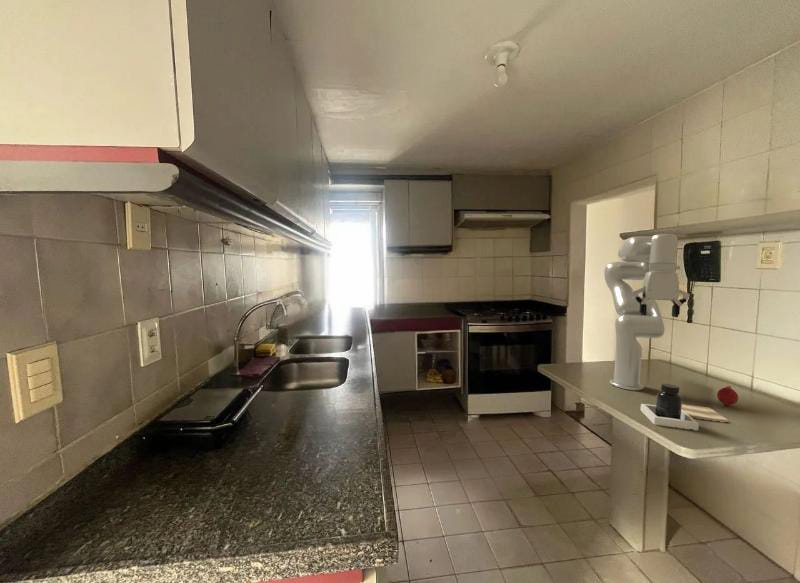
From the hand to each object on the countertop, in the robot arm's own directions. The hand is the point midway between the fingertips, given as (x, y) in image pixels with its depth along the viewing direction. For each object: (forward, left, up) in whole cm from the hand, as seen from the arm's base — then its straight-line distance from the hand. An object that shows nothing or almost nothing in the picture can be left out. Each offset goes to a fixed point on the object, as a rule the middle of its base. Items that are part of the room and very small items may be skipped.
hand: (658, 315), depth 122 cm
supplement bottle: (+9, +2, -35) cm, 36 cm away
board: (-1, +15, -35) cm, 38 cm away
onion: (-14, +30, -35) cm, 48 cm away
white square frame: (+9, +2, -35) cm, 36 cm away
